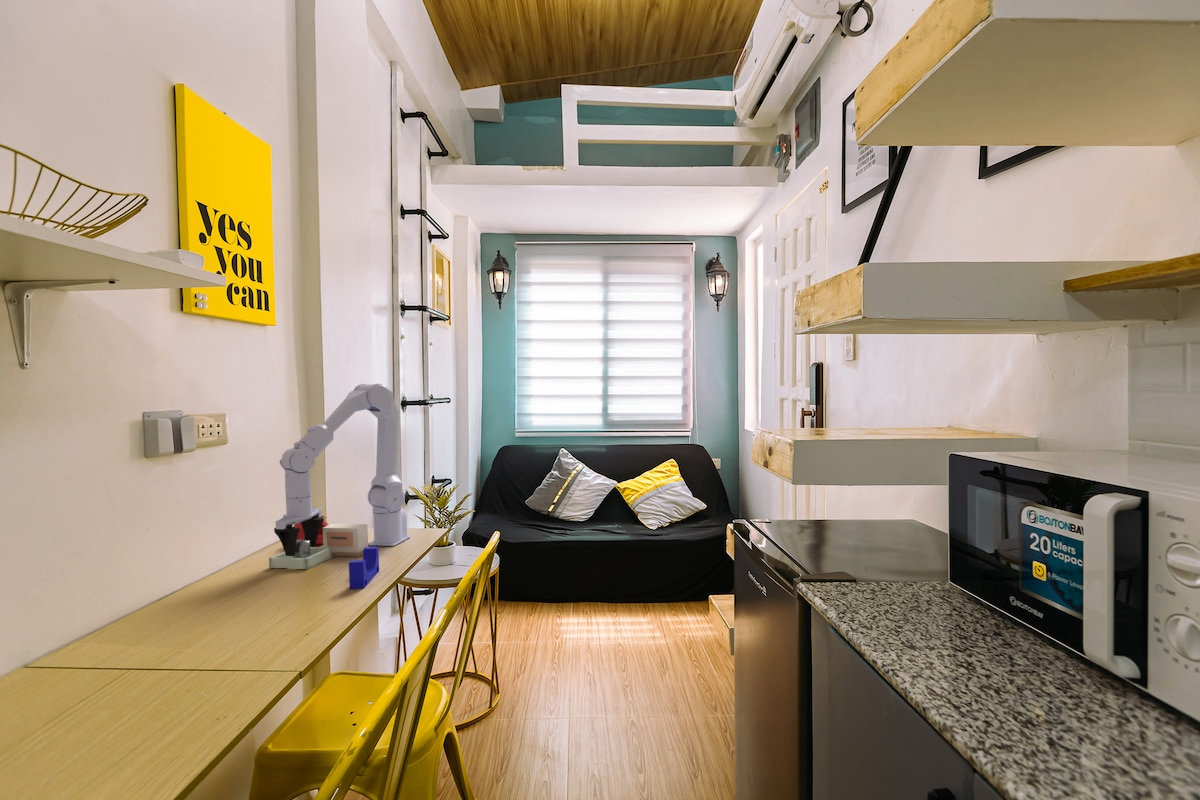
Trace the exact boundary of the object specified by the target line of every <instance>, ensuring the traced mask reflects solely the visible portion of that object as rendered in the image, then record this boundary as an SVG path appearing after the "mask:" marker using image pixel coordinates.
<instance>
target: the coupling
mask: <svg viewBox="0 0 1200 800" xmlns="http://www.w3.org/2000/svg"><path fill="white" fill-rule="evenodd" d="M310 556H311V554H310V539H298V540H297V541H296V554H295V556H293V558H307V557H310Z"/></svg>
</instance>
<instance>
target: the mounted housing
mask: <svg viewBox="0 0 1200 800" xmlns="http://www.w3.org/2000/svg"><path fill="white" fill-rule="evenodd" d="M368 533H369V531H368V523H366V524H364V523H363V524H362V523H332V524H328V526H326V527H323V544H322V548H332V557H336V556H354V557H353V558H361V557H363V556H362V555H363V549H364V548H365V547H369V545H368V543H369V540H368V539H369V534H368ZM360 556H361V557H360Z"/></svg>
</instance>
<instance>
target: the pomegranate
mask: <svg viewBox="0 0 1200 800" xmlns="http://www.w3.org/2000/svg"><path fill="white" fill-rule="evenodd" d="M320 517H323V518H324V522H323V523H322V525H321V527H320V530H319V533H318V537H317V541H316V546H317V547H318V546H320V545H323V527H326V526H328V525H329V523H328V522H327V520H326V519H327V518H328V517H327V516H324V515H322V516H320ZM293 527H294V528H300V530H299V532H298V536H297V540H298V539H305V535H304V530H303V527H302V525H301V522H300V523H297V524H294V525H293ZM316 546H315V547H316Z"/></svg>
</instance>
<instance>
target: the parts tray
mask: <svg viewBox="0 0 1200 800" xmlns="http://www.w3.org/2000/svg"><path fill="white" fill-rule="evenodd" d="M310 554H311V556H310V557H307V558H293V556H286V554H285V551H283V552H281V553H279V554H276V555H273V556H271V557H269V558H268V567H269V568H288V569H287V570H296V569H307V570H309V569H311V568H313V566H314V567H315V565H316V566H317V564H318V565H320V564H322V563H324V562H326V561H328V560H330V559H332V558H333V556H332V548H323V547H318V546H317V547H316V546H315V547H310ZM329 558H330V559H329ZM325 560H326V561H325ZM323 561H324V562H323ZM321 562H322V563H321ZM319 563H320V564H319ZM269 568H268V569H269ZM308 568H309V569H308Z"/></svg>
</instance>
